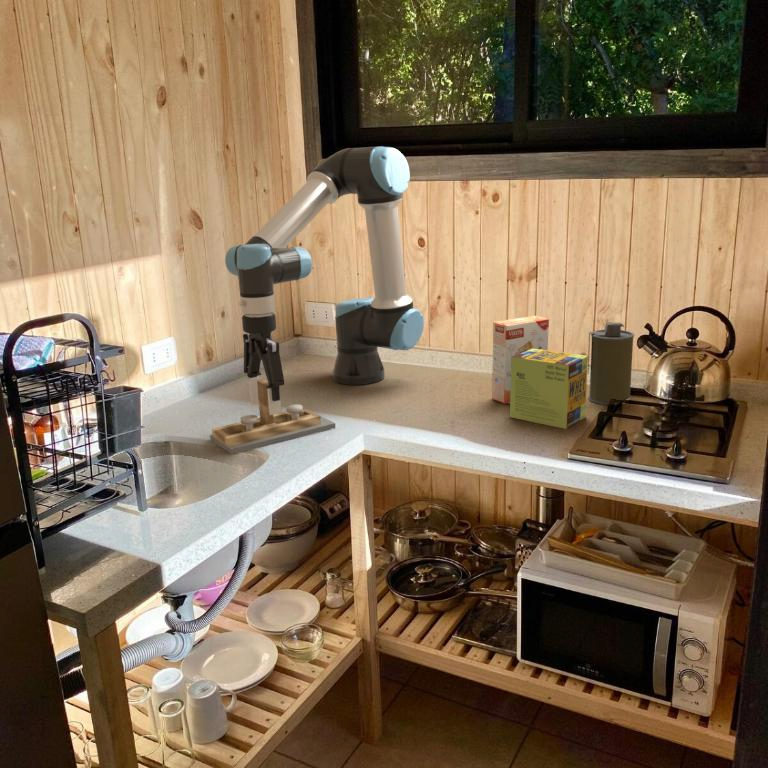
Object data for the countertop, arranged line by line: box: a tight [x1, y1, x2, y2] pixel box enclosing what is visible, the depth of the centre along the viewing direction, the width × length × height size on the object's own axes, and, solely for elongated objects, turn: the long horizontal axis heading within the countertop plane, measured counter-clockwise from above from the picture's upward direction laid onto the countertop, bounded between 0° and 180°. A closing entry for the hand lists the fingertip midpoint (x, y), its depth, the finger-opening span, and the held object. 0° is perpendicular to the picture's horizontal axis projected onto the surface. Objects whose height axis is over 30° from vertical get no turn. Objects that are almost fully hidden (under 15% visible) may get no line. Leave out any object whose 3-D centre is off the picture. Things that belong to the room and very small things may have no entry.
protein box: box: [509, 349, 588, 429], centre depth 192 cm, size 10×15×16 cm
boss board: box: [209, 404, 336, 455], centre depth 189 cm, size 27×12×5 cm, turn 125°
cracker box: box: [491, 315, 550, 405], centre depth 207 cm, size 14×6×21 cm, turn 119°
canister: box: [587, 321, 635, 406], centre depth 203 cm, size 11×10×20 cm
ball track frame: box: [211, 379, 321, 447], centre depth 187 cm, size 24×9×12 cm, turn 125°
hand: (266, 408), depth 187 cm, fingers open, 9 cm apart
